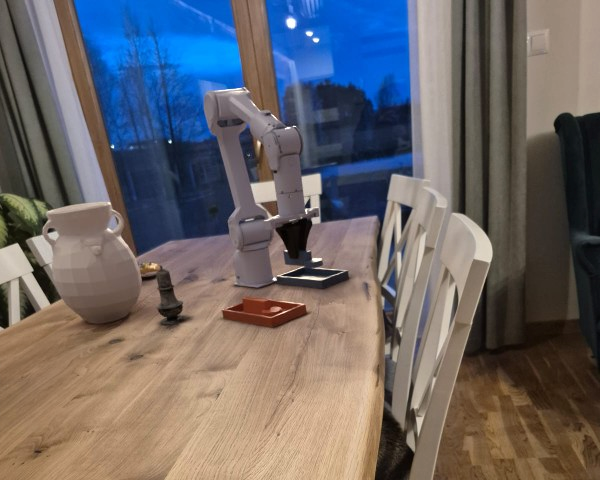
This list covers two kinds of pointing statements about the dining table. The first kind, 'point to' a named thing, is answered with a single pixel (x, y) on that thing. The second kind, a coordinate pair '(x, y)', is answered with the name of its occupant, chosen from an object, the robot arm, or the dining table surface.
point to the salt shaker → (168, 299)
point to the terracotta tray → (288, 313)
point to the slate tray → (312, 277)
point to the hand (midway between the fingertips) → (297, 257)
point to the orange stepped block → (260, 307)
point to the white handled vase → (93, 262)
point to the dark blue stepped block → (303, 260)
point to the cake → (148, 267)
